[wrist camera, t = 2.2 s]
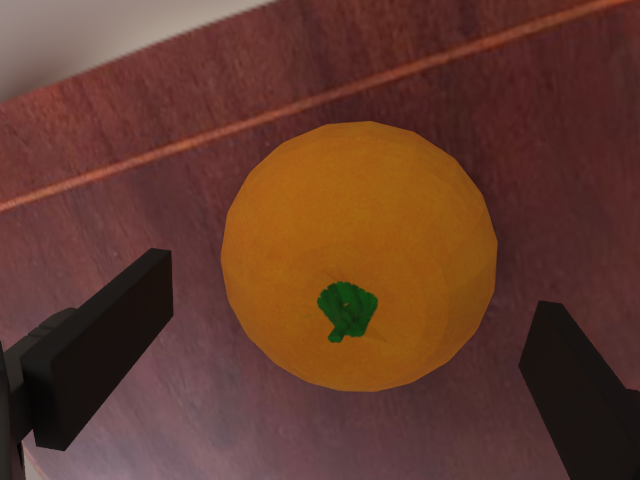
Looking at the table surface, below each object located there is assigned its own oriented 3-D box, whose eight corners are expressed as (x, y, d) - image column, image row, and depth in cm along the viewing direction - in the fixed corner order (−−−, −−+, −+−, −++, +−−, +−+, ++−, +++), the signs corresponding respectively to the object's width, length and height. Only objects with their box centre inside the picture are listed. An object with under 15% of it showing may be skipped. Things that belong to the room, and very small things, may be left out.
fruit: (323, 355, 27) (292, 512, 18) (205, 187, 24) (93, 270, 14) (516, 269, 23) (605, 408, 14) (407, 59, 20) (429, 62, 11)
